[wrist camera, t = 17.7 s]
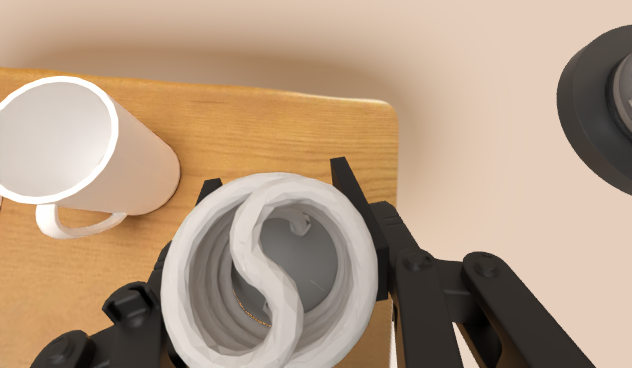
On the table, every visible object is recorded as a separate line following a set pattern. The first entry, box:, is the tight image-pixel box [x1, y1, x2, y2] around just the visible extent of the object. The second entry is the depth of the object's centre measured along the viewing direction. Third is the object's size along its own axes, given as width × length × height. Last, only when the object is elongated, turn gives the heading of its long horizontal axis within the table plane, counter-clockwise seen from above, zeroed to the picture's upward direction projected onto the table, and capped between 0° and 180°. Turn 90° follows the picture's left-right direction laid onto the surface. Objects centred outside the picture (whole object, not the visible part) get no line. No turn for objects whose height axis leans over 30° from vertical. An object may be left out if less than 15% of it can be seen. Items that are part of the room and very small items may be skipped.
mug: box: [0, 76, 180, 239], centre depth 23 cm, size 11×9×10 cm
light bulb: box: [160, 172, 378, 368], centre depth 12 cm, size 6×6×12 cm
